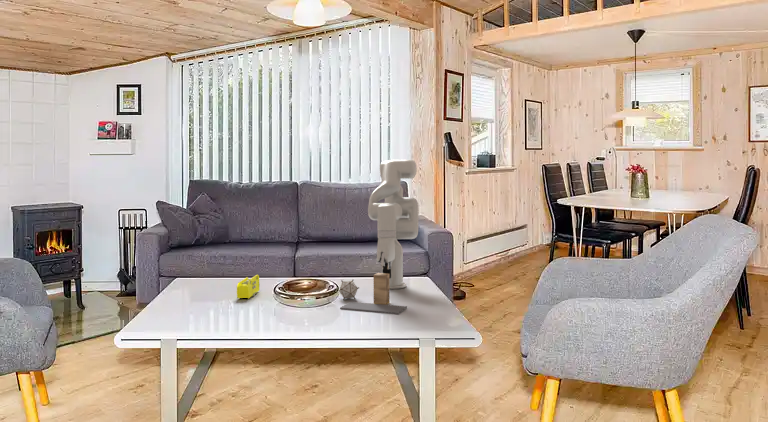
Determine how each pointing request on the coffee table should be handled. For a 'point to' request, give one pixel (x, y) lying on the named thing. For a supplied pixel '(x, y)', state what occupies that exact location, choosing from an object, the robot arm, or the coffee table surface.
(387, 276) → the oak block
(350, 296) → the game die
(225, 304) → the coffee table surface
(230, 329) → the coffee table surface
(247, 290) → the yellow toy chassis
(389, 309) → the mat
